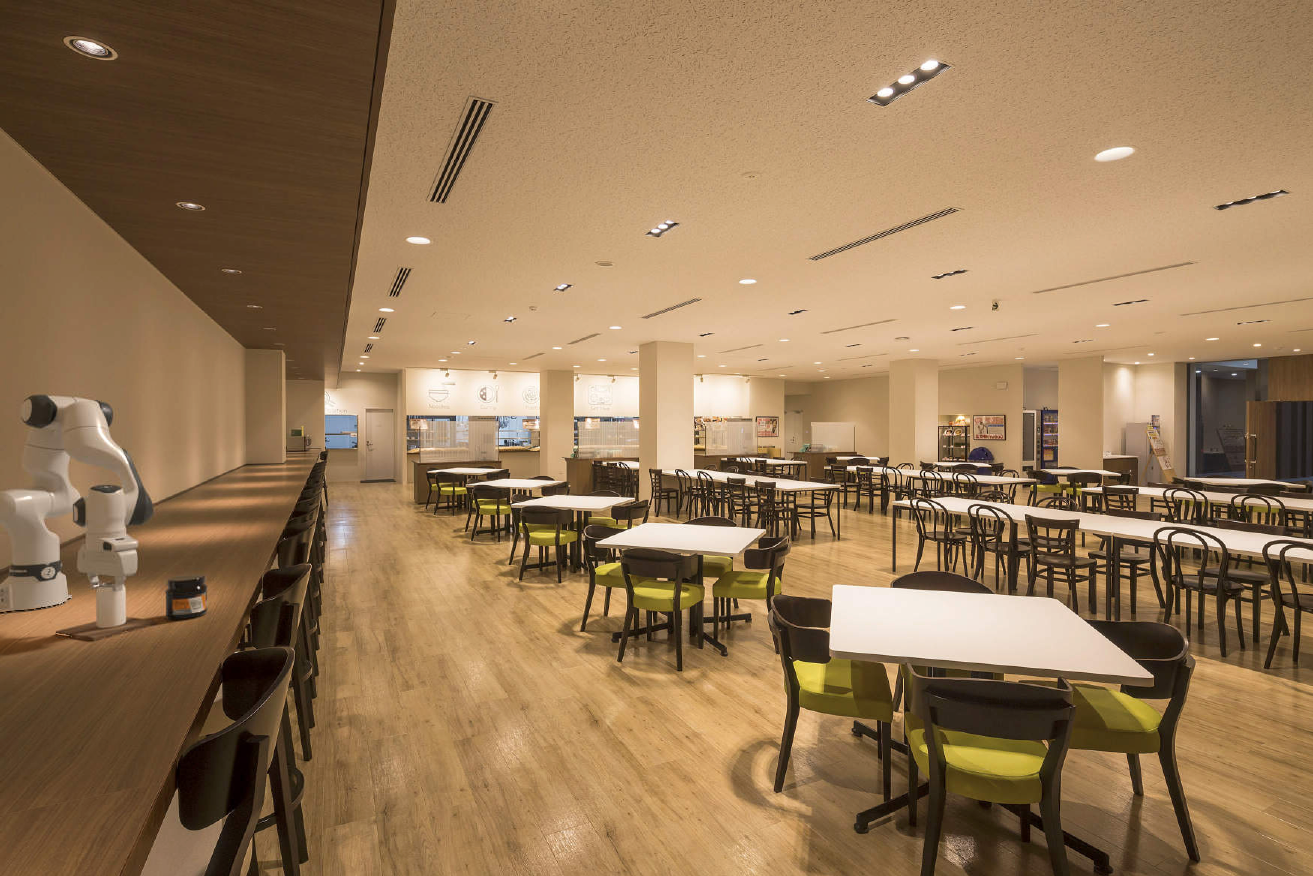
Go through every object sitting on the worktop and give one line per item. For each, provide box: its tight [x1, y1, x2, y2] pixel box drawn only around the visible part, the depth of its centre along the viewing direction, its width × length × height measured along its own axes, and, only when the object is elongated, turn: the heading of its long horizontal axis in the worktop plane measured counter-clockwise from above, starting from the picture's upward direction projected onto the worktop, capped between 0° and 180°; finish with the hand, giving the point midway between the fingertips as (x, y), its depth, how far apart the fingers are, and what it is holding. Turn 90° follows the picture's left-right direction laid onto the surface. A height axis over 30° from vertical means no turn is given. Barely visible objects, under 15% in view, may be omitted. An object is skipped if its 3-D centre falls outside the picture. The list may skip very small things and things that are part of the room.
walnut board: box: [55, 616, 157, 642], centre depth 184 cm, size 16×16×1 cm
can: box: [95, 581, 127, 629], centre depth 184 cm, size 6×6×12 cm
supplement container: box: [164, 573, 208, 621], centre depth 198 cm, size 10×10×12 cm
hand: (106, 589), depth 184 cm, fingers open, 8 cm apart
